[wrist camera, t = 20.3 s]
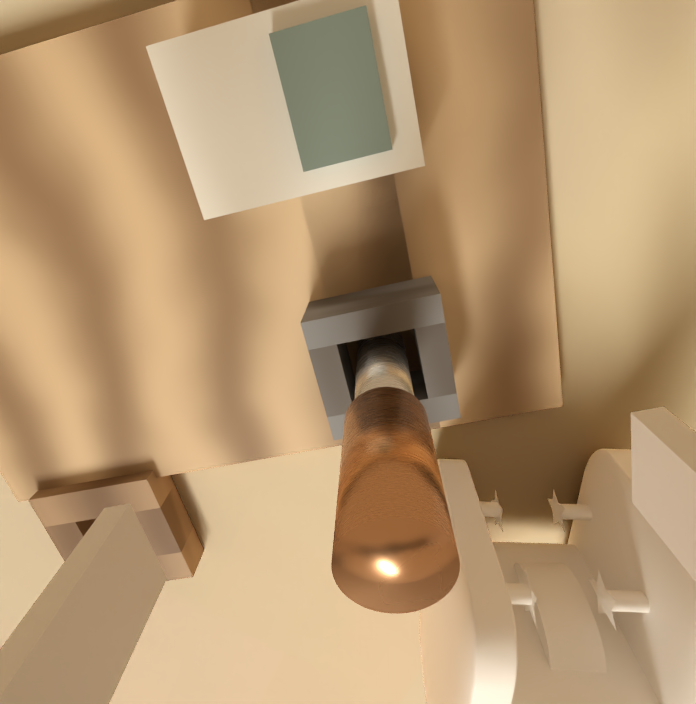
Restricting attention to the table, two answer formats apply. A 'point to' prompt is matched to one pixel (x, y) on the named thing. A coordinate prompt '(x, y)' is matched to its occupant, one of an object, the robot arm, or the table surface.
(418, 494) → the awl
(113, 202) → the plywood panel
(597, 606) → the cable organizer
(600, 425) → the table surface
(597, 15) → the table surface
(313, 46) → the block
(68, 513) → the tool rest
